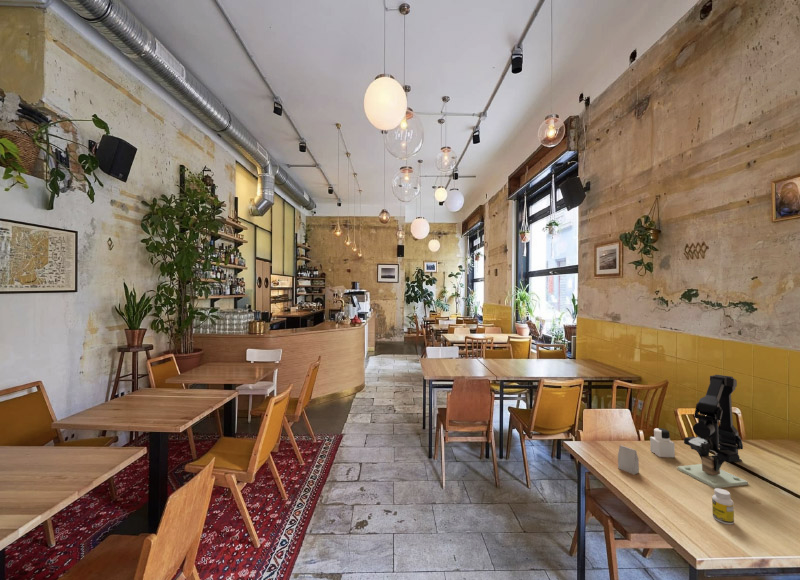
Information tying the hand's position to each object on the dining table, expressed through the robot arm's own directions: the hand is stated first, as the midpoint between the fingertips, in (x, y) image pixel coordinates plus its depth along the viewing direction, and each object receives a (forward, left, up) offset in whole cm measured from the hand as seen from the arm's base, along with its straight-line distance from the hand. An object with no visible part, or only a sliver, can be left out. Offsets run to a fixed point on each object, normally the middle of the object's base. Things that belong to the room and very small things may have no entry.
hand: (710, 468), depth 148 cm
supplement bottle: (+26, +25, -4) cm, 36 cm away
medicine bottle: (+1, -22, -4) cm, 22 cm away
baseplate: (0, 0, -3) cm, 3 cm away
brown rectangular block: (0, 0, -2) cm, 2 cm away
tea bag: (+30, -11, -4) cm, 32 cm away
